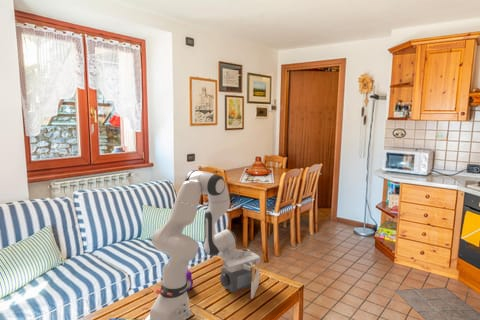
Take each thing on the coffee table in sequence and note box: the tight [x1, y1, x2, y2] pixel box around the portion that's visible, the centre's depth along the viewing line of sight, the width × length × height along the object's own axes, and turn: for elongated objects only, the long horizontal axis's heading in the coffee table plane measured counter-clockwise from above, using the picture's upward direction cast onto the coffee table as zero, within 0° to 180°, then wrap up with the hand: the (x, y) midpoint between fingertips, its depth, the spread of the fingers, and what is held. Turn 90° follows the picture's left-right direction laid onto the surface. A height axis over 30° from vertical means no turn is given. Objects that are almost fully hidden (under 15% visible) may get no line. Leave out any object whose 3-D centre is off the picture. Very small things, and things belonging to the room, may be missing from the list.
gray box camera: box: [219, 267, 257, 293], centre depth 180 cm, size 11×18×10 cm, turn 125°
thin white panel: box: [250, 265, 261, 299], centre depth 174 cm, size 2×16×17 cm, turn 164°
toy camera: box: [186, 269, 194, 292], centre depth 175 cm, size 11×14×10 cm
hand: (251, 268), depth 168 cm, fingers closed
